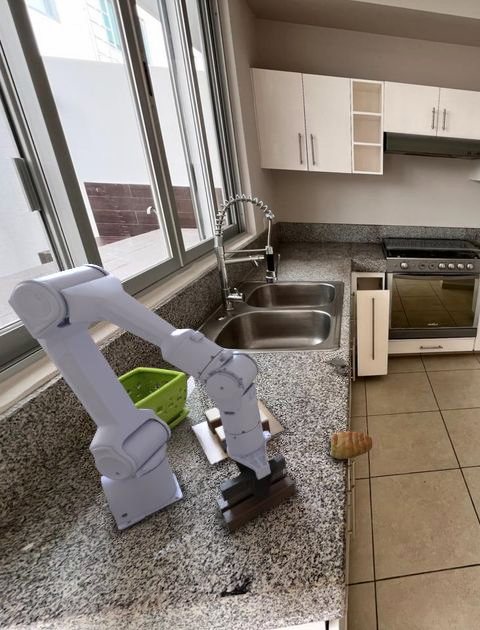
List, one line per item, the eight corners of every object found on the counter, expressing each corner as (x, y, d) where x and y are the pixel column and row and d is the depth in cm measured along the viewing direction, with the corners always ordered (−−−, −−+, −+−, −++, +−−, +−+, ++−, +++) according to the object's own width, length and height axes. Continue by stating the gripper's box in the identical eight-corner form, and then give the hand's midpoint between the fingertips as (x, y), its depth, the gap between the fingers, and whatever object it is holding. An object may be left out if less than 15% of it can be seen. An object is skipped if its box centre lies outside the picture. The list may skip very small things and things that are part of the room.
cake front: (224, 453, 75) (221, 439, 73) (218, 442, 78) (214, 428, 76) (270, 432, 81) (268, 418, 80) (262, 422, 84) (260, 409, 83)
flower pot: (153, 407, 89) (139, 365, 85) (199, 415, 87) (188, 372, 82) (96, 445, 77) (77, 398, 72) (149, 455, 74) (133, 407, 70)
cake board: (211, 466, 72) (211, 464, 72) (191, 428, 83) (191, 426, 82) (285, 431, 83) (285, 429, 82) (259, 401, 93) (259, 399, 93)
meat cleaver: (343, 358, 116) (328, 361, 115) (343, 355, 116) (328, 357, 114) (349, 375, 106) (332, 378, 104) (348, 371, 105) (332, 374, 104)
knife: (229, 521, 61) (221, 491, 58) (226, 515, 62) (218, 485, 59) (289, 486, 68) (284, 457, 65) (285, 481, 69) (281, 453, 66)
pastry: (371, 436, 82) (371, 423, 80) (373, 457, 76) (373, 444, 74) (331, 440, 80) (330, 427, 79) (329, 463, 74) (328, 449, 72)
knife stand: (229, 533, 59) (227, 523, 58) (218, 510, 63) (216, 500, 62) (296, 492, 67) (294, 483, 66) (282, 474, 71) (281, 465, 70)
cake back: (213, 434, 80) (209, 421, 78) (207, 425, 83) (204, 411, 81) (257, 416, 86) (254, 403, 85) (250, 407, 90) (248, 394, 88)
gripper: (284, 434, 56) (293, 494, 61) (250, 394, 65) (261, 450, 70) (238, 456, 51) (252, 519, 56) (209, 410, 61) (224, 468, 66)
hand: (254, 482), depth 63 cm, fingers open, 7 cm apart
